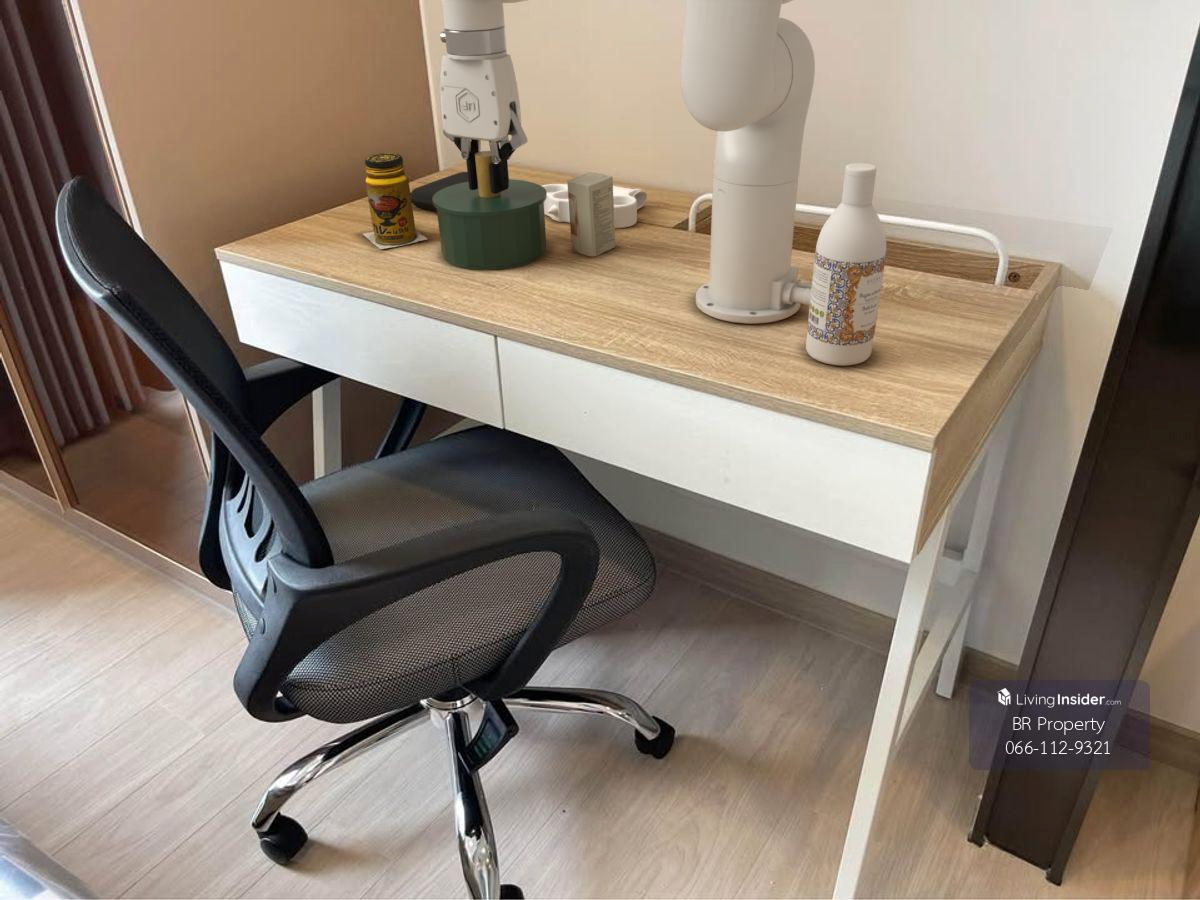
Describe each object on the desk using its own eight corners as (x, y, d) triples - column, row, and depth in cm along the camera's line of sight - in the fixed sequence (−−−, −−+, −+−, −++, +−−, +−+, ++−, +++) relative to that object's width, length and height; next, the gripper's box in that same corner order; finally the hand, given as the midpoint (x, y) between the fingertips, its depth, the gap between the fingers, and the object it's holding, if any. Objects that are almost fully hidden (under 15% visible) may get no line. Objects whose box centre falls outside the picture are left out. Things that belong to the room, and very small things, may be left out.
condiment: (381, 250, 131) (367, 165, 124) (361, 234, 137) (348, 153, 131) (428, 240, 134) (417, 157, 127) (407, 225, 140) (396, 145, 134)
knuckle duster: (664, 209, 143) (612, 236, 133) (571, 193, 152) (516, 217, 142) (664, 188, 142) (611, 213, 132) (570, 173, 151) (514, 195, 140)
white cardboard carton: (593, 241, 132) (591, 171, 126) (616, 247, 129) (615, 176, 124) (568, 251, 128) (565, 179, 123) (592, 258, 126) (589, 185, 120)
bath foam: (838, 373, 95) (863, 180, 84) (791, 350, 100) (809, 164, 89) (884, 356, 98) (914, 167, 87) (837, 334, 103) (859, 153, 92)
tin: (566, 244, 131) (563, 191, 127) (506, 277, 121) (501, 221, 117) (485, 229, 138) (480, 179, 134) (421, 259, 127) (414, 206, 123)
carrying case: (460, 184, 158) (399, 207, 148) (458, 167, 157) (396, 188, 147) (507, 193, 153) (448, 217, 143) (506, 175, 152) (446, 198, 141)
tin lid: (568, 195, 128) (566, 146, 124) (502, 227, 116) (498, 174, 113) (480, 182, 135) (475, 135, 131) (409, 211, 123) (402, 160, 120)
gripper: (406, 44, 116) (425, 188, 125) (511, 51, 108) (522, 204, 118) (444, 36, 121) (459, 175, 131) (546, 42, 114) (554, 189, 123)
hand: (489, 187), depth 124 cm, fingers closed on tin lid, 3 cm apart
